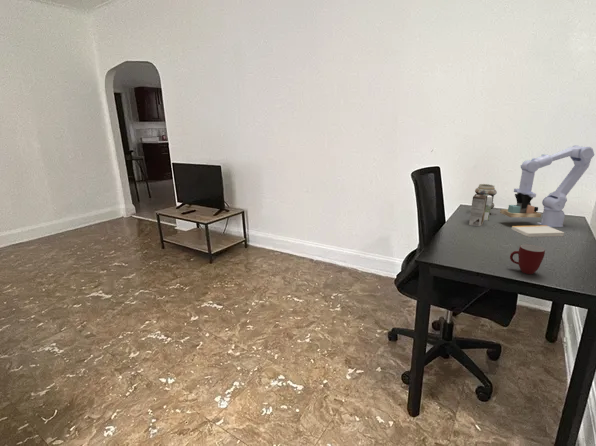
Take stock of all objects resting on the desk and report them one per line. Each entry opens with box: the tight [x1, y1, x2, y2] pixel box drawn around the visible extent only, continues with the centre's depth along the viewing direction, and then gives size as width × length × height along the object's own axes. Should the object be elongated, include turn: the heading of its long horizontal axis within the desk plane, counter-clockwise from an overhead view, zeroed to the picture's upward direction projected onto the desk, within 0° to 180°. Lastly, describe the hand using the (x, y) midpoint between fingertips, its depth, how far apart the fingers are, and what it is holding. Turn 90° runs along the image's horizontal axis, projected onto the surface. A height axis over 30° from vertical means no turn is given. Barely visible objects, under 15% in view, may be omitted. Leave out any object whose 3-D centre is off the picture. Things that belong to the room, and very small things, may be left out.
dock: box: [511, 224, 565, 238], centre depth 177 cm, size 19×12×2 cm, turn 94°
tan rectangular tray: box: [499, 202, 542, 218], centre depth 188 cm, size 17×9×6 cm, turn 94°
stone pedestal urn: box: [474, 183, 497, 216], centre depth 211 cm, size 12×12×18 cm
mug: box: [509, 244, 546, 275], centre depth 131 cm, size 10×8×10 cm
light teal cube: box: [507, 204, 521, 213], centre depth 187 cm, size 4×4×4 cm
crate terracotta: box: [526, 204, 536, 213], centre depth 188 cm, size 4×4×4 cm
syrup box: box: [484, 195, 494, 221], centre depth 199 cm, size 6×6×14 cm
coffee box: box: [468, 193, 488, 227], centre depth 190 cm, size 9×6×16 cm
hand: (521, 207), depth 187 cm, fingers closed on tan rectangular tray, 3 cm apart
